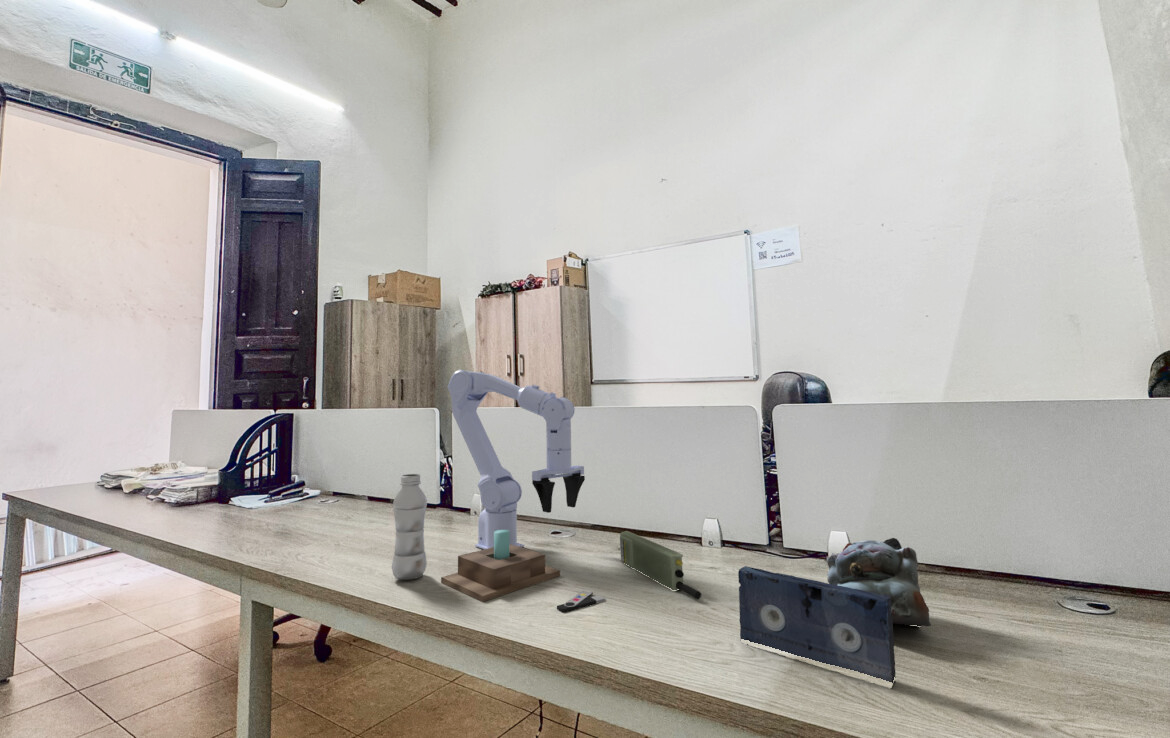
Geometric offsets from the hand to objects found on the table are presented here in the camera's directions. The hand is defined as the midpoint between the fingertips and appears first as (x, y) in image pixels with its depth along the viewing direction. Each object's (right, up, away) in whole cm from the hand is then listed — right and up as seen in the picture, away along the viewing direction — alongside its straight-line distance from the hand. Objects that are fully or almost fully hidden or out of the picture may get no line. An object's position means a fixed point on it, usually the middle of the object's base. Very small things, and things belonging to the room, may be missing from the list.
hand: (559, 509), depth 112 cm
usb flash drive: (+4, -8, -29) cm, 30 cm away
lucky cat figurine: (+49, -6, -38) cm, 62 cm away
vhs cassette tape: (+35, -6, -49) cm, 61 cm away
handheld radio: (+20, -9, -18) cm, 28 cm away
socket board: (-10, -9, -17) cm, 22 cm away
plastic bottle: (-29, -9, -16) cm, 34 cm away
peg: (-10, -8, -17) cm, 21 cm away
